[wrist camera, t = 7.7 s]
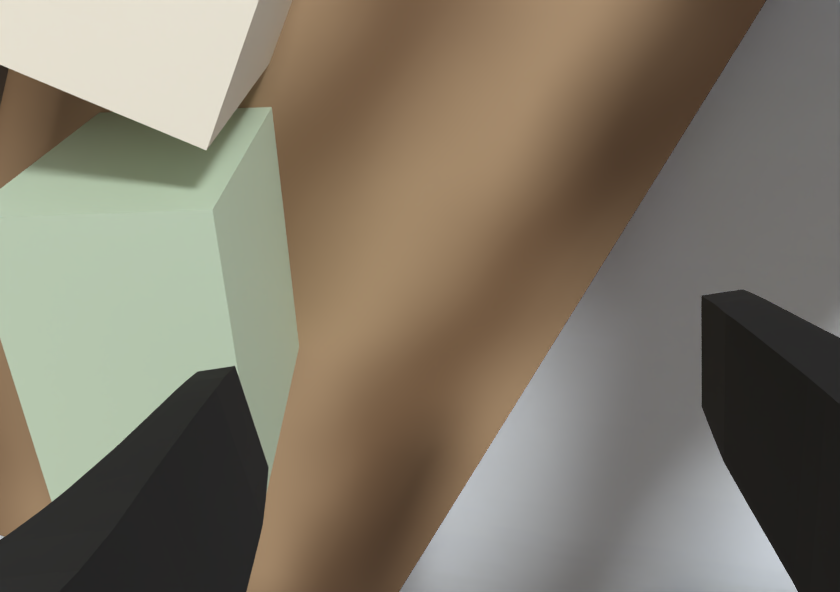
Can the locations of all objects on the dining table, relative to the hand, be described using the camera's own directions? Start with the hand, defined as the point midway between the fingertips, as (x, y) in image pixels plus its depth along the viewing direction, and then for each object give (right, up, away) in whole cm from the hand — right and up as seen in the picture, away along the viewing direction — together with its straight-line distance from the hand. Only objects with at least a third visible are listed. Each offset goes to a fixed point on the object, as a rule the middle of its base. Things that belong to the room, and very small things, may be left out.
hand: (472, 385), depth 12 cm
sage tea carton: (-6, +3, +8) cm, 10 cm away
